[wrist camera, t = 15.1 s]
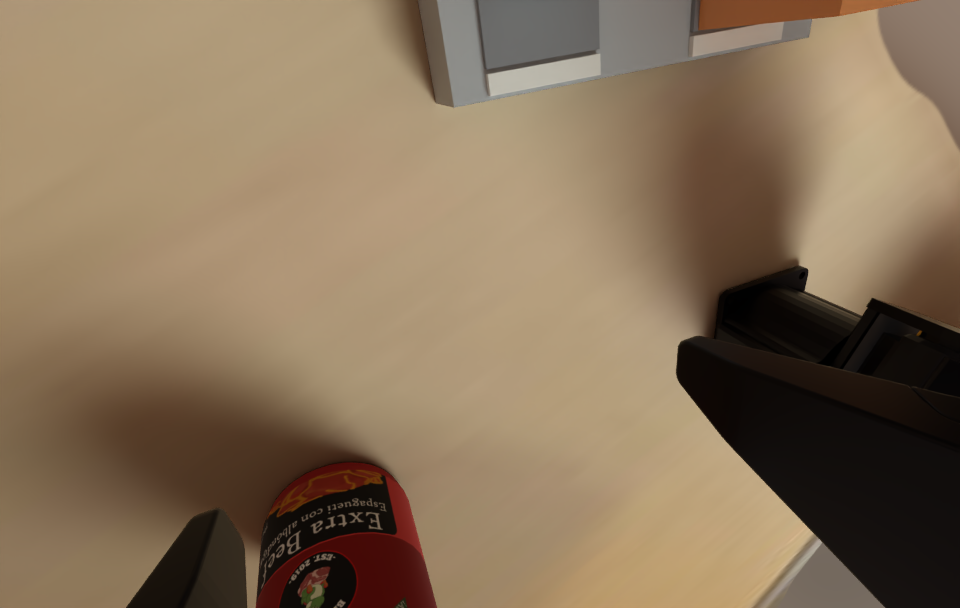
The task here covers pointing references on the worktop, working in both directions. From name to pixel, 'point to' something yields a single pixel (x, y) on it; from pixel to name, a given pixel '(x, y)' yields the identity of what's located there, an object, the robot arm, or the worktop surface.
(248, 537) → the worktop surface
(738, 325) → the robot arm
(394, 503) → the canned food
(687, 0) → the breaker panel
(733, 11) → the orange rectangular block
